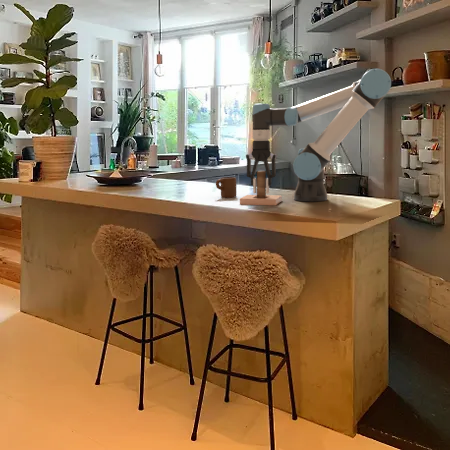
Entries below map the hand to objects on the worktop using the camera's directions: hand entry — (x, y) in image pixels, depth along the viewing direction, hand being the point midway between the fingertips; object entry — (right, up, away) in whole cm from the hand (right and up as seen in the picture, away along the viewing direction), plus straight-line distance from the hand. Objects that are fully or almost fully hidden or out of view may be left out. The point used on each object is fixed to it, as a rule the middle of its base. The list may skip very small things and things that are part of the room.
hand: (261, 193), depth 234 cm
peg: (0, -4, +1) cm, 4 cm away
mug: (-16, -1, +21) cm, 26 cm away
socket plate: (0, -4, +1) cm, 4 cm away
